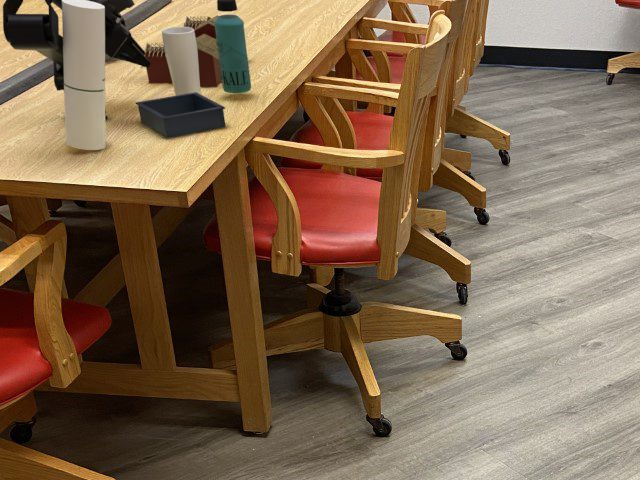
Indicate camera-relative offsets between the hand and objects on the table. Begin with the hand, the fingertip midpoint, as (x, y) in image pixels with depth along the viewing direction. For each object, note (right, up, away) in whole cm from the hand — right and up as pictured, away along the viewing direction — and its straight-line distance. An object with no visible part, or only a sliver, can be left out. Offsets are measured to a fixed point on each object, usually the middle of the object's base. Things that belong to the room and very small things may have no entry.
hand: (146, 60), depth 203 cm
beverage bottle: (+16, -3, +14) cm, 21 cm away
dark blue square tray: (+9, -15, -4) cm, 18 cm away
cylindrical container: (-6, -24, -16) cm, 29 cm away
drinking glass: (+7, -6, +8) cm, 12 cm away
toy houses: (+1, +16, +37) cm, 40 cm away
